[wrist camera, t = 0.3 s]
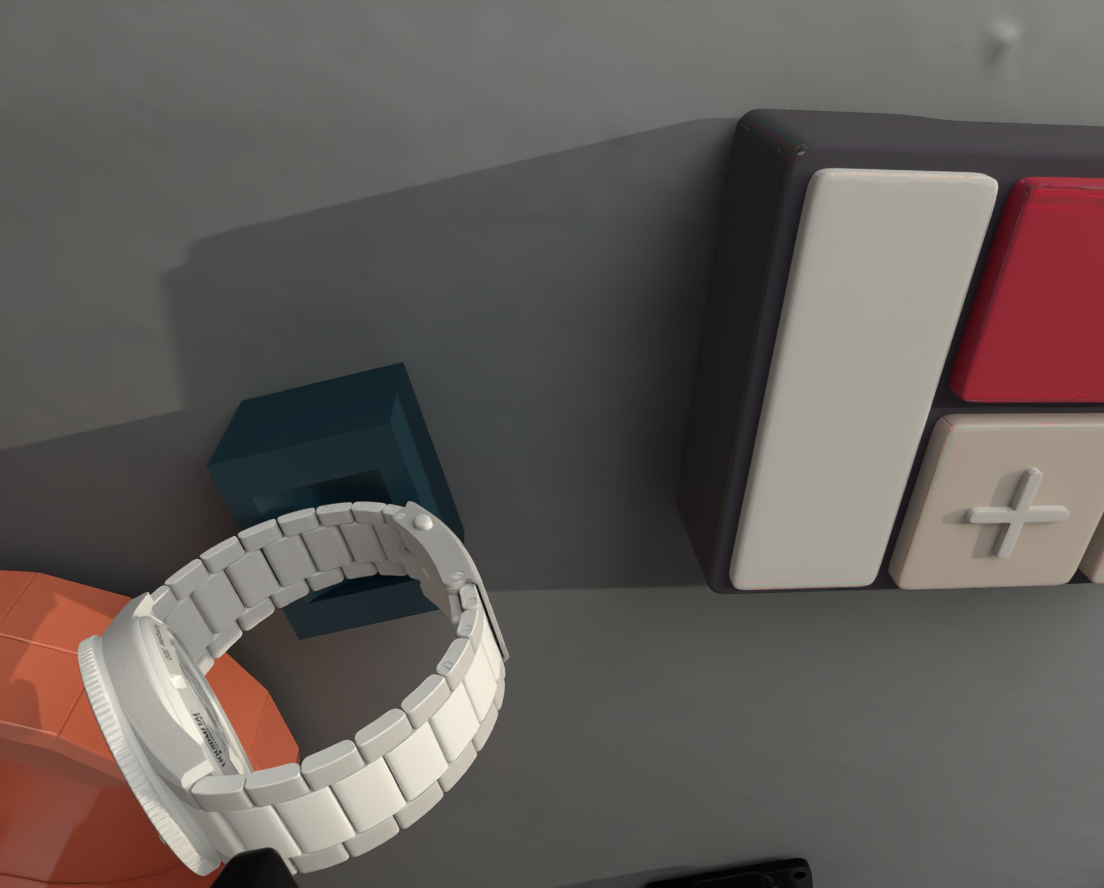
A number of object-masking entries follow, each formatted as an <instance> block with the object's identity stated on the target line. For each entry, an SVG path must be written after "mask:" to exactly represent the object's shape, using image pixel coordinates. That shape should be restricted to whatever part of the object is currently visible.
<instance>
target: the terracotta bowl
mask: <svg viewBox="0 0 1104 888" xmlns="http://www.w3.org/2000/svg"><path fill="white" fill-rule="evenodd" d="M130 600H132V598H131V597H128V596H124V595H121V594H117V593H113V592H110V591H106V590H102V589H99V588H95V587H91V586H88V585H84V584H80V583H77V582H73V581H69V580H66V579H62V578H58V577H55V576H51V575H48V574H44V573H40V572H38V573H36V572H31V571H10V570H0V888H209V887H210V886H211V884H212V883H213V881H214V880H215V879H216V877H217V876H218V874H219V873H220V872H221V870H222V869H223V868H224V866H225V865H226V864H225V863H223V862H222V861H221V860H220V865H219V867H218V868H217V869H215V870H214V871H212V872H210V873H209V874H207V875H206V876H201V875H198V874H196V873H195V872H193V871H192V870H191V869H190V868H188V867H187V866H186V865H185V864H184V863H183V862H182V861H180V860H179V859H178V857H177V856H176V855H175V854H174V853H173V852H172V851H171V849H170V848H169V847H168V846H167V844H164V843H163V842H162V841H161V839H160V838H159V836H158V835H159V834H158V832H157V831H156V829H155V828H154V826H153V825H152V824H151V822H150V820H149V819H148V817H147V816H146V814H145V813H144V811H143V810H142V808H141V806H140V805H139V803H138V801H137V800H136V798H135V796H134V795H133V793H132V791H131V790H130V788H129V786H128V784H127V782H126V781H125V779H124V777H123V775H122V773H121V771H120V769H119V768H118V766H117V764H116V762H115V760H114V758H113V756H112V754H111V752H110V750H109V748H108V746H107V743H106V741H105V739H104V737H103V735H102V733H101V730H100V728H99V726H98V723H97V721H96V719H95V716H94V714H93V711H92V709H91V706H90V703H89V701H88V698H87V695H86V692H85V689H84V685H83V682H82V678H81V674H80V669H79V661H78V647H79V644H80V642H82V641H83V640H85V639H87V638H89V637H91V636H93V635H98V636H101V637H102V635H103V633H104V631H105V630H106V629H107V627H108V626H109V625H110V623H111V622H112V621H113V619H114V618H115V617H116V615H117V614H118V613H119V612H120V611H121V610H122V609H123V608H124V606H125V605H126V604H127V603H128V602H129V601H130ZM213 659H214V664H213V666H212V667H211V668H210V670H209V671H208V672H207V673H206V675H205V678H206V680H207V681H208V683H209V685H210V687H211V688H212V690H213V692H214V694H215V695H216V697H217V699H218V701H219V702H220V704H221V706H222V708H223V710H224V712H225V713H226V715H227V717H228V719H229V721H230V723H231V725H232V727H233V729H234V731H235V732H236V734H237V736H238V738H239V740H240V742H241V744H242V746H243V749H244V751H245V753H246V755H247V757H248V759H249V761H250V763H251V766H252V768H253V770H254V772H255V771H259V770H264V769H269V768H274V767H278V766H281V765H285V764H289V763H297V764H298V765H299V766H300V759H299V747H298V746H297V743H296V741H295V739H294V738H293V736H292V734H291V732H290V730H289V728H288V727H287V725H286V723H285V721H284V719H283V717H282V715H281V714H280V712H279V710H278V708H277V706H276V704H275V702H274V701H273V699H272V697H271V695H270V694H269V693H268V690H267V689H266V688H264V687H263V686H262V685H261V684H260V683H259V682H258V681H257V680H256V679H255V678H254V677H252V676H251V675H250V674H249V673H248V672H247V671H246V670H245V669H244V668H243V667H242V666H241V665H239V664H238V663H237V662H236V661H235V660H234V659H233V658H232V657H231V656H230V655H229V654H227V653H226V652H225V653H224V654H223V655H222V656H221V657H219V658H213Z"/></svg>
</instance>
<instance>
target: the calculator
mask: <svg viewBox="0 0 1104 888" xmlns="http://www.w3.org/2000/svg"><path fill="white" fill-rule="evenodd" d="M677 506H678V511H679V514H680V516H681V519H682V521H683V524H684V526H685V529H686V532H687V534H688V537H689V539H690V542H691V544H692V547H693V549H694V552H695V554H696V557H697V559H698V562H699V564H700V567H701V569H702V572H703V574H704V577H705V579H706V581H707V584H708V586H709V587H710V589H711V590H712V591H714V592H716V593H720V594H747V593H780V592H813V591H846V590H879V589H908V590H916V589H950V588H983V587H1016V586H1049V585H1060V584H1079V583H1098V584H1104V127H1100V126H1073V125H1047V124H1020V123H994V122H967V121H951V120H942V119H933V118H925V117H917V116H909V115H900V114H879V113H855V112H829V111H803V110H777V109H756V110H752V111H749V112H748V113H746V114H745V115H744V116H743V117H742V118H741V119H740V120H739V122H738V124H737V126H736V130H735V135H734V141H733V146H732V153H731V159H730V166H729V172H728V179H727V185H726V192H725V198H724V204H723V211H722V217H721V224H720V230H719V237H718V243H717V250H716V256H715V263H714V269H713V275H712V282H711V288H710V295H709V301H708V308H707V314H706V321H705V327H704V333H703V340H702V346H701V353H700V359H699V366H698V372H697V379H696V385H695V391H694V398H693V404H692V411H691V417H690V424H689V430H688V437H687V443H686V450H685V456H684V462H683V469H682V475H681V482H680V488H679V495H678V503H677Z"/></svg>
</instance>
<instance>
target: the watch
mask: <svg viewBox="0 0 1104 888" xmlns="http://www.w3.org/2000/svg"><path fill="white" fill-rule="evenodd" d="M207 468H208V469H209V471H210V473H211V475H212V477H213V479H214V481H215V483H216V484H217V486H218V488H219V490H220V492H221V494H222V496H223V498H224V499H225V501H226V503H227V505H228V507H229V509H230V511H231V513H232V514H233V516H234V518H235V520H236V522H237V524H238V526H239V528H240V529H241V531H242V532H240V533H238V537H239V539H240V541H241V543H242V544H243V546H244V548H245V549H244V550H243V548H242V546H241V544H240V542H239V540H238V539H237V537H236V536H233V537H231V538H229V539H227V540H225V541H223V542H221V543H219V544H218V545H216V546H214V547H212V548H211V549H209V550H207V551H206V552H204V553H202V554H201V555H200V559H201V560H202V562H203V564H204V565H203V564H202V562H201V561H200V560H199V559H195V560H193V561H192V562H190V563H189V564H187V565H186V566H184V567H183V568H182V569H180V570H179V571H177V572H176V573H175V574H174V575H172V576H171V577H170V578H169V579H167V580H166V581H165V583H164V584H165V585H166V586H164V585H163V586H161V587H159V588H158V589H157V590H156V591H155V592H153V593H152V594H151V595H150V594H149V592H145V593H143V594H142V595H140V596H138V597H136V598H134V599H132V600H130V601H129V602H128V603H127V604H126V605H125V606H124V608H123V609H122V610H121V611H120V612H119V613H118V614H117V615H116V617H115V618H114V619H113V621H112V622H111V623H110V625H109V626H108V627H107V629H106V630H105V631H104V633H103V635H102V637H101V636H98V635H93V636H91V637H89V638H87V639H85V640H83V641H82V642H80V644H79V647H78V661H79V669H80V674H81V678H82V682H83V685H84V689H85V692H86V695H87V698H88V701H89V703H90V706H91V709H92V711H93V714H94V716H95V719H96V721H97V723H98V726H99V728H100V730H101V733H102V735H103V737H104V739H105V741H106V743H107V746H108V748H109V750H110V752H111V754H112V756H113V758H114V760H115V762H116V764H117V766H118V768H119V769H120V771H121V773H122V775H123V777H124V779H125V781H126V782H127V784H128V786H129V788H130V790H131V791H132V793H133V795H134V796H135V798H136V800H137V801H138V803H139V805H140V806H141V808H142V810H143V811H144V813H145V814H146V816H147V817H148V819H149V820H150V822H151V824H152V825H153V826H154V828H155V829H156V831H157V832H158V834H159V835H158V836H159V838H160V839H161V841H162V842H163V843H164V844H167V846H168V847H169V848H170V849H171V851H172V852H173V853H174V854H175V855H176V856H177V857H178V859H179V860H180V861H182V862H183V863H184V864H185V865H186V866H187V867H188V868H190V869H191V870H192V871H193V872H195V873H196V874H198V875H201V876H206V875H207V874H209V873H210V872H212V871H214V870H215V869H217V868H218V867H219V865H220V860H221V861H222V862H223V863H225V864H226V863H227V862H228V861H229V860H230V859H231V858H232V857H233V856H234V855H236V854H237V853H240V852H243V851H248V850H254V849H260V848H266V847H272V848H274V849H276V850H277V851H278V852H279V854H280V855H281V857H282V858H283V860H284V862H285V864H286V865H287V867H288V869H289V870H290V872H291V874H292V875H294V874H295V873H297V871H298V870H299V871H300V873H308V872H312V871H316V870H320V869H323V868H327V867H330V866H333V865H336V864H338V863H341V862H343V861H345V860H347V859H348V857H349V853H350V855H351V856H352V857H357V856H359V855H361V854H363V853H365V852H367V851H369V850H371V849H373V848H375V847H377V846H378V845H380V844H382V843H384V842H385V841H387V840H388V839H390V838H392V837H393V836H395V835H396V834H397V833H398V832H399V827H398V825H397V823H396V822H395V820H394V818H393V816H392V815H393V814H394V816H395V817H396V819H397V821H398V823H399V825H400V827H401V828H402V829H405V828H407V827H409V826H410V825H411V824H413V823H414V822H415V821H417V820H418V819H419V818H421V817H422V816H423V815H424V814H425V813H426V812H428V811H429V810H430V809H431V808H432V807H433V806H434V805H435V804H436V803H437V802H439V801H440V800H441V798H442V797H443V792H442V790H443V791H444V792H447V791H448V790H450V789H451V788H452V787H453V786H454V784H455V783H456V782H457V781H458V780H459V779H460V778H461V777H462V775H463V774H464V773H465V772H466V770H467V769H468V768H469V766H470V765H471V764H472V762H473V761H474V760H475V758H476V756H477V753H476V751H480V750H481V749H482V747H483V746H484V744H485V742H486V740H487V739H488V737H489V735H490V733H491V731H492V729H493V727H494V724H495V722H496V719H497V716H498V712H497V711H498V710H499V709H500V708H501V705H502V701H503V696H504V689H505V682H504V678H505V668H504V663H503V662H505V661H507V660H508V658H509V654H508V651H507V649H506V646H505V643H504V640H503V638H502V635H501V632H500V629H499V627H498V624H497V621H496V618H495V616H494V613H493V610H492V607H491V605H490V602H489V599H488V596H487V593H486V591H485V588H484V585H483V582H482V580H481V577H480V575H479V573H478V570H477V568H476V566H475V564H474V562H473V560H472V558H471V557H470V555H469V553H468V552H467V550H466V549H465V547H464V529H463V526H462V523H461V521H460V518H459V515H458V512H457V510H456V507H455V504H454V501H453V499H452V496H451V493H450V490H449V488H448V485H447V482H446V479H445V476H444V474H443V471H442V468H441V465H440V463H439V460H438V457H437V454H436V452H435V449H434V446H433V443H432V441H431V438H430V435H429V432H428V430H427V427H426V424H425V421H424V418H423V416H422V413H421V410H420V407H419V405H418V402H417V399H416V396H415V394H414V391H413V388H412V385H411V383H410V380H409V377H408V374H407V372H406V369H405V366H404V363H403V362H402V363H398V364H394V365H390V366H386V367H381V368H377V369H373V370H369V371H365V372H361V373H356V374H352V375H348V376H344V377H340V378H336V379H331V380H327V381H323V382H319V383H315V384H311V385H306V386H302V387H298V388H294V389H290V390H285V391H281V392H277V393H273V394H269V395H265V396H260V397H256V398H252V399H248V400H244V401H242V402H241V404H240V406H239V407H238V409H237V411H236V413H235V415H234V417H233V418H232V420H231V422H230V424H229V426H228V428H227V429H226V431H225V433H224V435H223V437H222V439H221V440H220V442H219V444H218V446H217V448H216V450H215V452H214V453H213V455H212V457H211V459H210V461H209V463H208V464H207ZM204 566H205V567H206V569H207V570H206V569H205V567H204ZM223 569H224V570H225V572H226V573H227V575H228V577H229V579H230V581H231V582H232V584H233V586H234V588H235V589H236V591H237V593H238V595H239V597H240V598H241V600H242V602H243V604H244V606H243V604H242V602H241V601H240V599H239V597H238V595H237V594H236V592H235V590H234V588H233V586H232V585H231V583H230V581H229V579H228V578H227V576H226V574H225V572H224V571H223ZM207 571H208V572H207ZM269 596H270V597H271V598H272V600H273V602H274V604H275V606H276V607H278V608H283V610H284V612H285V614H286V616H287V618H288V620H289V621H290V623H291V625H292V627H293V629H294V631H295V633H296V635H297V636H298V638H299V640H300V639H305V638H310V637H314V636H319V635H323V634H328V633H333V632H337V631H342V630H346V629H351V628H356V627H360V626H365V625H370V624H374V623H379V622H383V621H388V620H393V619H397V618H402V617H406V616H411V615H416V614H420V613H425V612H430V611H434V610H439V609H440V610H441V611H442V612H443V613H444V614H445V615H446V616H447V617H448V618H449V619H450V620H451V621H452V624H453V627H454V629H455V632H456V634H457V637H458V639H456V640H454V641H453V642H452V644H451V645H450V647H449V649H448V651H447V652H446V654H445V655H444V657H443V658H442V660H441V661H440V663H439V664H438V666H437V668H436V672H437V674H438V675H431V676H429V677H428V678H426V679H425V681H424V682H423V683H422V684H421V685H420V686H419V687H418V688H417V689H415V690H414V691H413V692H412V693H411V694H410V695H409V696H408V697H407V698H405V699H404V700H403V702H402V704H401V708H402V710H403V711H401V710H400V709H392V710H390V711H388V712H387V713H385V714H384V715H383V716H381V717H380V718H378V719H377V720H375V721H374V722H372V723H371V724H369V725H368V726H366V727H364V728H363V729H361V730H360V731H359V732H357V734H356V736H355V742H356V744H357V746H358V748H359V750H360V752H361V753H362V754H361V755H360V754H359V752H358V750H357V749H356V747H355V745H354V743H353V742H352V741H350V740H344V741H341V742H339V743H337V744H335V745H333V746H331V747H329V748H327V749H325V750H322V751H320V752H317V753H315V754H313V755H310V756H308V757H306V758H305V759H304V760H303V762H302V765H301V768H300V766H299V765H298V764H297V763H289V764H285V765H281V766H278V767H274V768H269V769H264V770H259V771H255V772H254V770H253V768H252V766H251V763H250V761H249V759H248V757H247V755H246V753H245V751H244V749H243V746H242V744H241V742H240V740H239V738H238V736H237V734H236V732H235V731H234V729H233V727H232V725H231V723H230V721H229V719H228V717H227V715H226V713H225V712H224V710H223V708H222V706H221V704H220V702H219V701H218V699H217V697H216V695H215V694H214V692H213V690H212V688H211V687H210V685H209V683H208V681H207V680H206V678H205V675H206V673H207V672H208V671H209V670H210V668H211V667H212V666H213V664H214V659H213V658H219V657H221V656H222V655H223V654H224V653H225V652H226V651H227V650H228V649H229V648H230V647H231V646H232V645H233V644H234V643H235V642H236V641H237V640H238V639H239V638H240V637H241V636H242V631H241V629H242V630H245V631H247V630H250V629H251V628H253V627H254V626H255V625H257V624H258V623H259V622H261V621H262V620H263V619H265V618H266V617H268V616H269V615H271V614H272V613H273V612H274V610H275V607H274V605H273V604H272V602H271V600H270V598H269ZM235 620H236V621H237V622H236V621H235ZM237 623H238V624H237ZM238 625H239V626H240V628H241V629H240V628H239V626H238ZM383 755H384V757H385V759H386V761H387V763H388V765H389V767H390V769H391V771H392V773H393V775H394V777H395V779H396V781H397V783H398V785H399V787H400V789H401V791H402V793H401V792H400V791H399V789H398V787H397V785H396V783H395V781H394V779H393V777H392V775H391V773H390V771H389V769H388V767H387V765H386V763H385V761H384V759H383V757H382V756H383ZM330 785H331V786H330ZM331 787H332V788H331ZM333 790H334V791H333ZM334 792H335V793H334ZM337 797H338V798H337ZM338 799H339V800H338ZM340 802H341V803H340ZM341 804H342V805H341ZM342 806H343V807H342ZM344 809H345V810H344ZM345 811H346V812H345ZM346 813H347V814H346ZM348 816H349V817H348ZM349 818H350V819H349Z"/></svg>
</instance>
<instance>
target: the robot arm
mask: <svg viewBox="0 0 1104 888" xmlns="http://www.w3.org/2000/svg"><path fill="white" fill-rule="evenodd" d="M209 888H300V887H299V885H298V884H297V882H296V880H295V879H294V877H293V875H292V874H291V872H290V870H289V869H288V867H287V865H286V864H285V862H284V860H283V858H282V857H281V855H280V854H279V852H278V851H277V850H276V849H274V848H272V847H266V848H260V849H254V850H248V851H243V852H240V853H237V854H236V855H234V856H233V857H232V858H231V859H230V860H229V861H228V862H227V863H226V865H225V866H224V868H223V869H222V870H221V872H220V873H219V874H218V876H217V877H216V879H215V880H214V881H213V883H212V884H211V886H210V887H209ZM645 888H813V884H812V873H811V870H810V867H809V864H808V862H807V860H805V859H802V858H794V859H788V860H783V861H777V862H771V863H765V864H759V865H754V866H748V867H742V868H736V869H731V870H725V871H719V872H713V873H707V874H702V875H696V876H690V877H684V878H679V879H673V880H667V881H661V882H655V883H652V884H649V885H648V886H646V887H645Z"/></svg>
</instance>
